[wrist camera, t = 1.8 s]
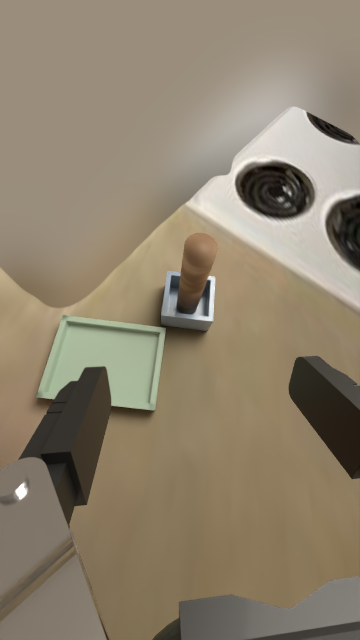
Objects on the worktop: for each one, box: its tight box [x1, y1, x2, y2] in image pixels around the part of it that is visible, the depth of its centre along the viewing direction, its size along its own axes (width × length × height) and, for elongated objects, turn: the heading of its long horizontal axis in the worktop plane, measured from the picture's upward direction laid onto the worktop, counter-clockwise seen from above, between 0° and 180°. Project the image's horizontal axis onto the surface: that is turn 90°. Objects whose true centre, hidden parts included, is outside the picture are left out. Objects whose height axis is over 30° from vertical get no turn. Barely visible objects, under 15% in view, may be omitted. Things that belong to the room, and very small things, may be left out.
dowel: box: [176, 233, 218, 314], centre depth 30 cm, size 4×4×15 cm
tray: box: [36, 315, 166, 410], centre depth 33 cm, size 16×12×2 cm
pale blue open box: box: [161, 271, 215, 331], centre depth 36 cm, size 8×8×4 cm
